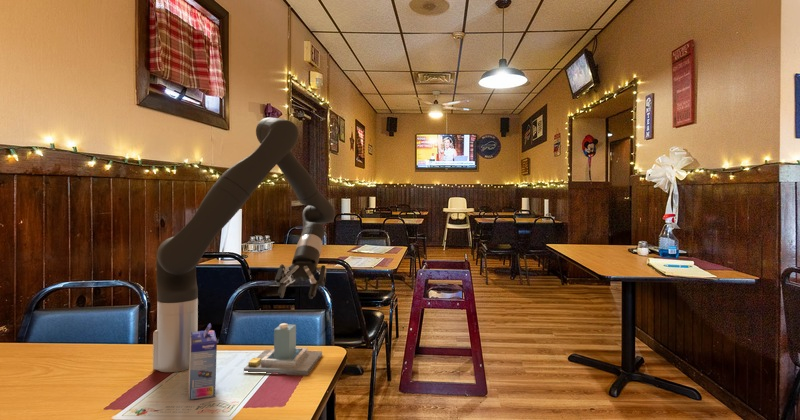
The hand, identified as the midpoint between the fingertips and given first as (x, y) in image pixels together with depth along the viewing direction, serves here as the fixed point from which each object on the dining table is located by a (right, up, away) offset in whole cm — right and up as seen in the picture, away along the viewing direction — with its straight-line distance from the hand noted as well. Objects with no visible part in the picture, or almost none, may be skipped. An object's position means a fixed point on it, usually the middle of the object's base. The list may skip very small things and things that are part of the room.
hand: (295, 297), depth 117 cm
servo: (-1, -15, -8) cm, 17 cm away
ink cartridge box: (-15, -16, -24) cm, 32 cm away
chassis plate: (-1, -16, -8) cm, 18 cm away
